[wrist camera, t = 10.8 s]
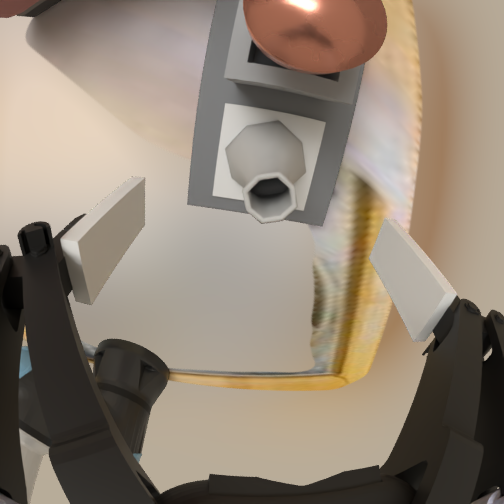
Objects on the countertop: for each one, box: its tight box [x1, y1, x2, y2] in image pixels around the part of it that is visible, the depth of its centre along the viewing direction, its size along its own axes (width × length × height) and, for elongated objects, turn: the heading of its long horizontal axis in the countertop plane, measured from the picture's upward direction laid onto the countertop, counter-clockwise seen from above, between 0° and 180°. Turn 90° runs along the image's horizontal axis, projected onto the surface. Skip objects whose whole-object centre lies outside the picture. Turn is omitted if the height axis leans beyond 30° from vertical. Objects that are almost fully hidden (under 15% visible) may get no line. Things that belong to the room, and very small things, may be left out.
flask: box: [225, 120, 306, 224], centre depth 20 cm, size 7×7×10 cm
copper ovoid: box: [243, 0, 387, 75], centre depth 11 cm, size 6×6×8 cm
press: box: [187, 0, 365, 226], centre depth 19 cm, size 22×14×10 cm, turn 171°
